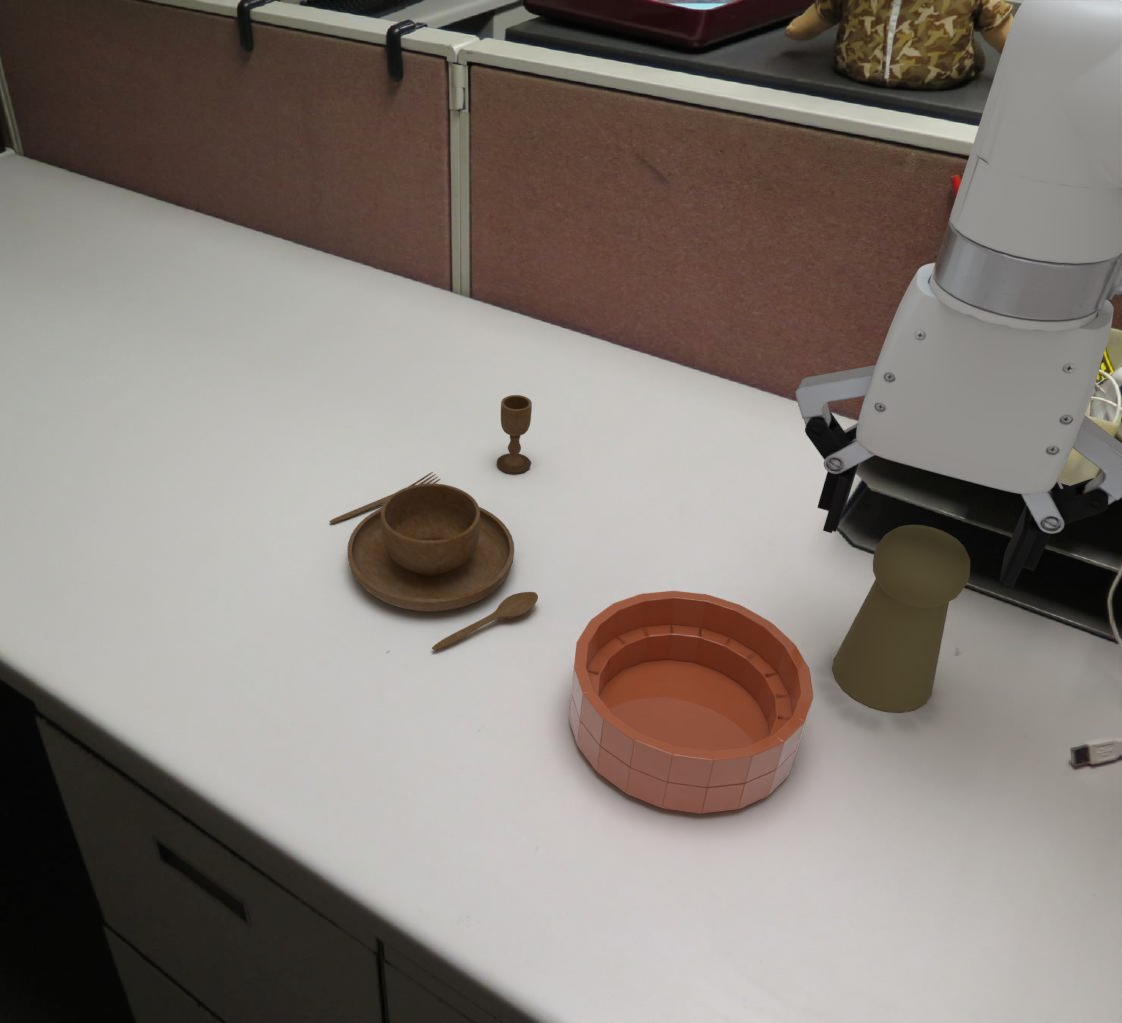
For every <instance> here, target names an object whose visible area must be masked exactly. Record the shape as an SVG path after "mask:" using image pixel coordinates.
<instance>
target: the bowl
mask: <svg viewBox="0 0 1122 1023" xmlns="http://www.w3.org/2000/svg"><path fill="white" fill-rule="evenodd" d="M572 673H573V674H572V682H571V690H570V691H571V692H570V700H569V701H570V702H569V712H568V721H569V724H570V727H571V730H572V733H573V737H574V740H575V744H576V745H577V748H578V750H579V751H580V752H581V753H582V755H583V756H584V757H585V759H586V760H587V762H589V763H590V765H591V766H592V768H593V769H594V770H595V772H597V774H599V775H600V776H602V777H603V778H604V779H606V780H607V781H609V782H610V783H611V784H612V785H614V786H615V787H616V788H618V789H619V790H621V792H623V793H625V794H626V795H628V796H631V797H633V798H636V799H638V800H641V801H643V802H646V803H648V804H650V805H653V806H655V807H658V808H661V809H665V810H672V811H679V812H687V813H691V814H707V813H716V812H717V813H718V812H726V811H733V810H740V809H743V808H745V807H746V806H749V805H752V804H754V803H755V802H758V801H760V800H762V799H765V798H767V797H769V796H770V795H772V793H773V792H774V791H775V790H776V789H777V788H778V787H779V786H780V785H781V784H782V783H783V782H784V781H785V780H786V779H787V778H788V777H789V775H790V774H791V771H792V767H793V765H794V762H795V759H796V757H797V753H798V750H799V747H800V744H801V740H802V737H803V733H804V730H805V727H806V723H807V720H808V718H809V713H810V710H811V707H812V704H813V700H814V691H813V684H812V683H813V682H812V676H811V670H810V667H809V666H808V664H807V663H806V661H805V659H804V657H803V655H802V653H801V651H800V650H799V649H798V646H797V645H796V644H795V642H794V641H793V640H791V639H790V638H789V637H788V636H787V635H786V634H785V633H784V632H782V630H780V629H779V628H778V627H777V626H776V625H775V624H774V623H773V622H771V621H770V620H768V619H766V618H765V617H763V616H761V615H760V614H758V613H756V612H754V611H752V610H751V609H748V608H747V607H745V606H743V605H741V604H738V603H736V602H732V601H730V600H726V599H723V598H720V597H718V596H713V595H711V594H708V593H698V592H697V593H696V592H689V591H679V590H667V591H656V592H646V593H639V594H636V595H633V596H630V597H628V598H625V599H621V600H619V601H617V602H614V603H612V604H610V605H609V606H607V607H606V608H605V609H603V610H602V611H600V612H599V613H598V614H597V615H595V616H594V617H593V618H591V619H590V620H589V621H588V623H587V624H586V626H585V628H584V629H583V631H582V633H581V634H580V636H579V637H578V639H577V640H576V643H575V654H574V662H573V671H572Z"/></svg>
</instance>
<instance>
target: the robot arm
mask: <svg viewBox="0 0 1122 1023" xmlns="http://www.w3.org/2000/svg"><path fill="white" fill-rule="evenodd" d="M980 118H981V119H980V122H979V124H978V127H977V131H976V134H975V138H974V141H973V143H972V146H971V150H970V153H969V155H968V160H967V162H966V165H965V169H964V172H963V174H962V178H961V180H960V184H959V187H958V190H957V193H956V197H955V199H954V203H953V206H952V208H951V212H950V216H949V219H948V222H947V225H946V228H945V231H944V234H943V237H942V241H941V243H940V247H939V250H938V253H937V257H936V259H935V262H931V263H926V264H924V265H922V266H920V267H919V268H918V270H916V273H915V274H914V276H913V278H912V279H911V281H910V283H909V285H908V287H907V288H906V290H905V292H904V295H903V296H902V298H901V301H900V303H899V305H898V307H897V309H896V312H895V314H894V317H893V319H892V321H891V324H890V326H889V328H888V331H887V334H886V337H885V339H884V342H883V345H882V347H881V350H880V353H879V355H878V358H877V360H876V363H875V364H874V365H867V366H861V367H857V368H851V369H846V370H845V369H844V370H840V371H833V372H829V373H824V374H818V375H817V374H816V375H813V376H808V377H804V378H802V380H801V381H800V383H799V384H798V387H797V388H796V390H795V392H794V394H795V395H794V396H795V398H796V403H797V406H798V408H799V411H800V415H801V418H802V420H803V422H804V425H805V428H804V432H805V435H806V437H807V438H808V439H809V441H810V442H811V443H812V444H813V446H814V447H815V449H816V450H817V452H818V453H819V454H820V456H821V457H822V459H823V460H824V461H823V468H824V469H825V470H826V471H827V472H826V474H825V475H826V476H825V479H824V482H823V486H822V490H821V493H820V496H819V500H818V503H817V507H816V508H817V509H820V510H823V511H826V512H828V513H827V515H826V518H825V522H824V525H823V528H822V531H823V532H825V533H830V534H832V533H833V532H834V533H836V532H837V530H838V528H839V526H840V523H841V520H842V517H843V515H844V512H845V510H846V508H847V507H846V506H847V504H848V501H849V497H850V493H851V490H852V487H853V484H854V481H855V478H856V475H857V471H858V468H859V465H860V464H861V463H862V462H864V461H867V460H869V459H870V458H873V457H874V456H876V457H879V458H882V459H885V460H887V461H891V462H895V463H898V464H902V465H906V466H909V467H913V468H917V469H921V470H924V471H926V472H927V471H928V472H931V473H935V474H938V475H943V476H946V477H950V478H953V479H957V480H961V481H966V482H969V483H972V484H977V485H980V486H984V487H988V488H993V489H996V490H1000V491H1004V492H1008V493H1013V494H1020V496H1021V497H1022V499H1023V501H1024V503H1025V505H1024V508H1023V510H1022V511H1021V512H1022V513H1021V515H1020V517H1019V519H1018V521H1017V524H1016V526H1015V528H1014V531H1013V533H1012V536H1011V538H1010V540H1009V542H1008V544H1007V546H1006V549H1005V552H1004V554H1003V560H1002V565H1001V571H1000V576H999V581H1000V582H1002V585H1004V586H1007V587H1010V588H1014V587H1015V586H1016V584H1017V580H1018V578H1019V576H1020V574H1021V572H1022V569H1027V570H1030V571H1035V570H1036V568H1037V567H1038V563H1039V562H1040V559H1041V557H1042V555H1043V554H1044V551H1045V549H1046V547H1047V545H1048V542H1049V540H1050V538H1051V536H1052V534H1057V533H1060V532H1061V531H1062V530H1064V528H1065V525H1068V524H1071V523H1075V522H1077V521H1080V520H1083V519H1086V518H1089V517H1092V516H1095V515H1098V514H1101V513H1104V512H1105V511H1106V510H1107V509H1108V507H1109V505H1111V504H1112V503H1115V501H1119V500H1120V499H1122V442H1121V441H1119V440H1118V439H1117V438H1115V437H1114V436H1113V435H1112V434H1110V433H1109V432H1108V431H1107V430H1106V429H1104V428H1103V427H1102V426H1100V425H1099V424H1098V423H1096V422H1095V421H1094V420H1092V419H1091V418H1090V417H1088V416H1087V415H1086V414H1087V411H1088V408H1089V405H1090V403H1091V399H1092V396H1093V393H1094V390H1095V388H1096V383H1097V378H1098V376H1099V373H1100V372H1099V371H1100V368H1101V364H1102V361H1103V358H1104V355H1105V352H1106V348H1107V346H1108V343H1109V340H1110V336H1111V335H1110V334H1111V329H1112V324H1113V319H1114V318H1113V317H1114V310H1115V309H1114V305H1113V304H1112V303H1111V301H1112V300H1113V298H1114V296H1115V295H1117V296H1122V0H1023V1H1022V2H1021V4H1020V5H1019V7H1018V9H1017V11H1016V13H1015V14H1014V16H1013V19H1012V22H1011V24H1010V27H1009V30H1008V33H1007V36H1006V38H1005V42H1004V46H1003V48H1002V51H1001V55H1000V58H999V60H998V63H997V67H996V71H995V73H994V77H993V80H992V83H991V85H990V89H989V92H988V96H987V99H986V102H985V105H984V109H983V112H982V114H981V117H980ZM857 398H864V399H863V402H862V405H861V409H860V412H859V416H858V421H857V422H856V423H855V424H853V425H851V426H849V427H847V428H846V429H844V428H843V427H842V425H841V424H840V422H838V420H837V418H836V417H835V415H834V414H833V413H832V412H831V411H830V409H829V403H833V402H839V401H845V400H846V401H847V400H851V399H857ZM1073 449H1074V451H1076V452H1077V453H1078V454H1080V455H1081V456H1083V457H1084V458H1085V459H1086V460H1088V461H1089V462H1090V463H1091V464H1093V465H1094V466H1096V467H1097V468H1098V469H1099V470H1101V471H1100V473H1098V475H1097V476H1095V477H1092V478H1088V479H1086V480H1083V481H1079V482H1078V483H1074V484H1071V485H1069V486H1066V487H1064V486H1063V484H1062V483H1061V481H1060V477H1061V476H1062V473H1063V471H1064V469H1065V467H1066V465H1067V463H1068V460H1069V457H1070V455H1071V453H1072V450H1073Z"/></svg>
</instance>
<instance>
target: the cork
mask: <svg viewBox="0 0 1122 1023" xmlns="http://www.w3.org/2000/svg"><path fill="white" fill-rule="evenodd" d="M872 572H873V574H874V577H875V579H874V582H873V584H872V585H871V587H870V588H869V591H868V593H867V595H866V596H865V598H864V601H863V602H862V604H861V605H860V608H859V610H858V612H857V614H856V616H855V618H854V619H853V622H852V623H851V625H850V627H849V629H848V631H847V633H846V635H845V637H844V639H843V640H842V643H840V644H841V645H840V646H839V648H838V650H837V652H836V654H835V656H834V658H833V660H832V666H831V670H832V673H833V675H834V676H833V677H834V680H835V682H836V683H837V684H838V686H839V687H840V688H841V690H842V691H843V692H845V693H846V694H847V695H848V696H850V697H851V698H852V699H853V700H855V701H857V702H859V703H861V704H863V705H864V706H867V707H868V708H871V709H874V710H878V711H883V712H887V713H888V712H890V713H906V712H912V711H915V710H916V711H917V710H918V709H919V708H921V707H923V706H925V705H926V704H927V703H928V702H929V700H930V698H931V696H932V695H933V689H934V684H935V679H936V674H937V668H938V663H939V657H940V652H941V647H942V642H943V637H944V631H945V626H946V620H947V616H948V615H947V614H948V609H949V605H950V602H951V601H953V600H955V599H957V598H958V596H959V595H960V594H961V593H962V592H963V590H964V589H965V587H966V586H967V584H968V582H969V579H970V577H971V558H970V556H969V553H968V551H967V549H966V547H965V546H964V545H963V543H961V541H959V540H958V539H957V538H956V537H954V536H953V535H951V534H949V533H948V532H946V531H944V530H941V529H938V528H936V527H932V526H927V525H923V524H907V525H902V526H897V527H896V528H893V529H892V530H891V531H889V532H887V533H886V534H885V535H884V536H882V538H881V540H880V541H879V542H878V544H877V545H876V547H875V550H874V553H873V558H872Z"/></svg>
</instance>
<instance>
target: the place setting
mask: <svg viewBox="0 0 1122 1023" xmlns="http://www.w3.org/2000/svg"><path fill="white" fill-rule="evenodd" d="M532 404H533V402H532V400H531V399H530V398H529V397H527V396H525V395H520V394H511V395H507V396H505V397H504V398H502V399H501V402H500V423H501V424H500V425H501V428H502V430H503V431H504V433H505V434H506V435H508V436H509V440H510V441H509V442H508V444H507V451H508V453H504V454H502V455H500V456H499V457H498V458H497V460H496V467H497V468H498V470H500V471H501V472H503V473H507V474H511V475H519V474H523V473H525V472H528V470H530V468H531V466H532V462H531V459H530V458H529V457H527V456H526V455H524V454H522V453H520V452H521V451H522V445H521V442H520V439H521V436H524V434H526V433H527V432H528V431H529V429H530V426H531V421H532V410H533V409H532V408H533V405H532ZM433 473H434V471H432V472H430V473H428V474H426V475H425V476H423V477H422V478H419V479H418V480H416V481H415V482H413V483H412V484H410V485H408V486H407V487H404V488H402V489H399V490H397V491H396V492H394V493H392V494H390V495H387V496H385V497H381V498H380V499H377V500H375V501H373V502H370V503H367V504H365V505H363V506H361V507H358V508H355V509H353V510H351V511H350V510H349V511H348V512H346V513H344V514H341V515H338V516H337V517H334V518H333V519H330V520H329V521H328V522H329V523H330V524H336V523H339V522H341V521H345V520H347V519H349V518H352V517H354V516H357V515H359V514H362V513H364V512H366V511H369V510H372V509H373V508H375V507H378V506H380V505H382V506H381V507H380V508H378V509H377V510H375V511H373V512H371V513H370V514H369V515H367V516H365V517H364V518H363V519H362V520H361V521H360V522H359V523H357V525H356V527H355V528H354V529H353V531H352V532H351V535H350V536H349V539H348V543H347V549H346V550H347V561H348V565H349V567H350V568H349V569H350V571H351V573H352V575H353V576H354V579H356V581H357V582H358V583H359V585H360V586H361V587H362V588H363V589H364V590H365V591H366V592H368V593H369V594H370V595H372V596H373V597H375V598H376V599H378V600H380V601H382V602H384V603H387V604H389V605H391V606H394V607H397V608H401V609H405V610H411V611H417V612H444V611H450V610H456V609H459V608H463V607H467V606H469V605H471V604H474V603H477V602H479V601H480V600H483V599H484V598H486V597H487V596H489V595H491V594H492V593H493V592H494V591H495V590H497V589H498V588H499V587H500V586H501V585H502V583H503V582H504V581H505V580H506V578H507V577H508V575H509V573H510V571H511V568H512V566H513V563H514V557H515V542H514V538H513V536H512V534H511V532H510V530H509V528H508V527H507V526H506V524H505V523H504V522H503V521H502V520H501V519H500V518H498V517H497V516H496V515H495V514H493V513H492V512H490V511H489V510H486V509H485V508H483V507H482V506H479V504H478V502H477V501H476V500H475V499H474V497H473V496H472V495H470V494H469V493H468V492H466V491H464V490H463V489H460V488H458V487H455V486H452V485H448V484H444V483H438V482H439V481H440V480H441V478H439V476H436V475H437V474H436V473H435V474H433ZM438 478H439V479H438ZM538 599H539V595H538V593H537V592H534V591H522V592H518V593H513V594H511V595H509V596H507V597H506V598H505V599H503V600H502V601H500V603H499V605H498V606H497V608H496V609H495V610H494V611H493V612H492V613H490V614H489V615H487V616H485V617H483V618H481V619H480V620H478V621H476V622H474V623H471V624H469V625H468V626H465V627H464V628H461V629H460V630H457V631H455V632H454V633H452V634H450V635H448V636H446V637H444V638H443V639H441V640H439V641H438V642H437V643H435V644H434V645H433V646H432V647H431V649H432V650H433V651H437V650H440V649H443V648H445V647H448V646H450V645H452V644H453V643H456V642H457V641H460V640H461V639H462V638H464V637H467V635H470V634H471V633H473V632H475V631H476V630H478V629H480V628H481V627H484V626H485V625H487V624H489V623H491V622H493V621H496V620H498V619H514V618H517V617H520V616H522V615H524V614H527V613H528V612H529V611H530V610H531V609H533V607H534V606H536V604H537V602H538Z"/></svg>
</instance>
